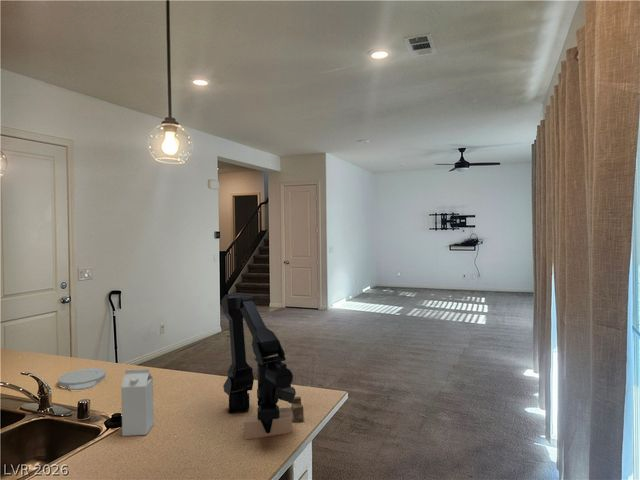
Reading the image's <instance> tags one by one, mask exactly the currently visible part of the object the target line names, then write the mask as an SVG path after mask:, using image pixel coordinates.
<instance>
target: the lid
mask: <svg viewBox="0 0 640 480" xmlns="http://www.w3.org/2000/svg"><path fill="white" fill-rule="evenodd" d="M106 374H107V371H106V370H105V369H103V368H100V367H99V368H97V367H89V368H82V369H76V370H72V371H69V372H66V373H63V374H61V375H60V376H59V377H58V379H57V382H58V385H60V386H62V387H65V388H69V389H70V390H84V391H86V390H85V389H88V390H90V389H89V388H91V389H93V388H92V387H94V386H95V385H96V386H97V385H98V384H100V383H99V382H101V381H102V380H103V379H104V378H105V379H106ZM105 379H104V380H105ZM104 380H103V381H104ZM103 381H102V382H103ZM102 382H101V383H102ZM97 383H98V384H97ZM60 386H59V387H60ZM96 386H95V387H96ZM95 387H94V388H95ZM70 390H69V391H70Z"/></svg>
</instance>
